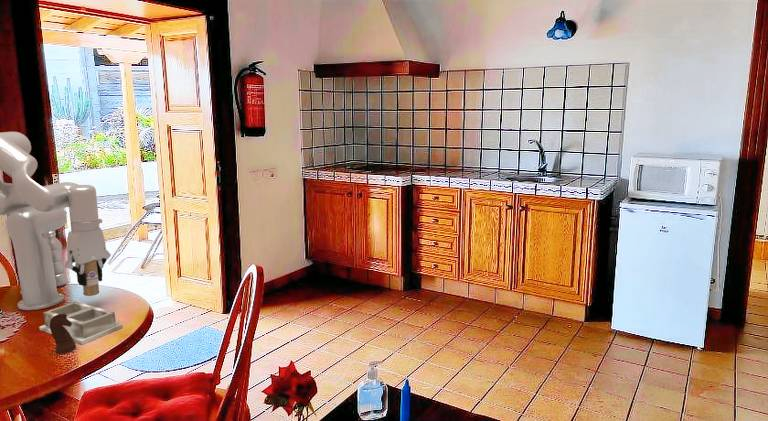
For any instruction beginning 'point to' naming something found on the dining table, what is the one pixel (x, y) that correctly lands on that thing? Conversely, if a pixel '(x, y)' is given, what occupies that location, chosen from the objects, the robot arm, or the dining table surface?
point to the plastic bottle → (56, 257)
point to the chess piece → (62, 334)
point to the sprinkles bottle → (91, 278)
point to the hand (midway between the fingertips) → (90, 282)
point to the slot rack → (83, 321)
